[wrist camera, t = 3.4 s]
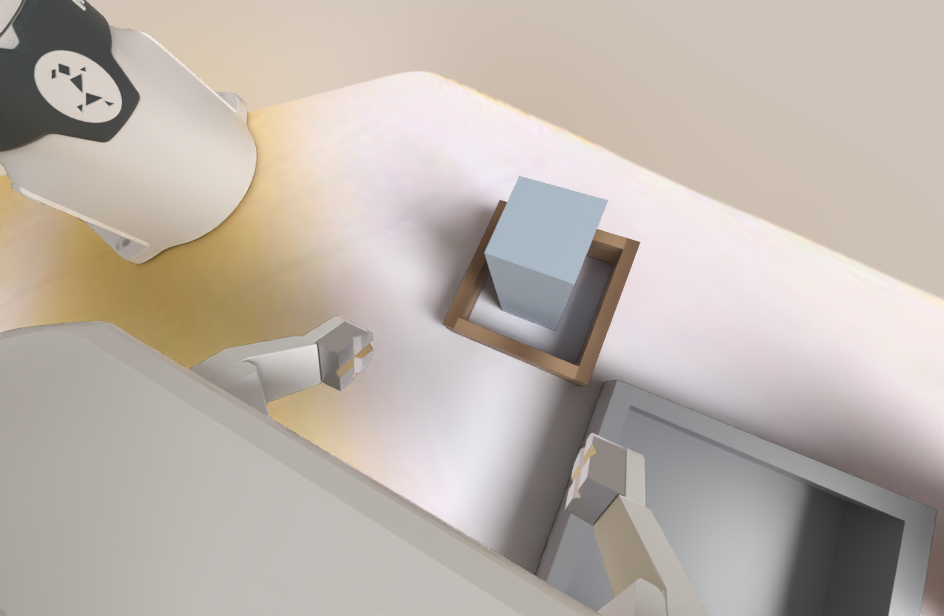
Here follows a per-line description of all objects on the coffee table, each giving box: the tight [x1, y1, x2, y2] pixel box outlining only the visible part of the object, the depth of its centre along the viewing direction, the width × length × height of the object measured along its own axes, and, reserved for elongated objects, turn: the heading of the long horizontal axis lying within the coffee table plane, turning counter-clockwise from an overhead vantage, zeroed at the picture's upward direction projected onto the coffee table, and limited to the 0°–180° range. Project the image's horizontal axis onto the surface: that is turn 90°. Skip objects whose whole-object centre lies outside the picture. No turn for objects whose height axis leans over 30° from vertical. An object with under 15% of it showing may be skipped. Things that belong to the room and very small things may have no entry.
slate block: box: [484, 176, 608, 331], centre depth 19 cm, size 4×4×10 cm
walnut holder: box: [443, 200, 640, 386], centre depth 22 cm, size 10×10×2 cm
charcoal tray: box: [535, 380, 937, 616], centre depth 17 cm, size 14×14×4 cm
